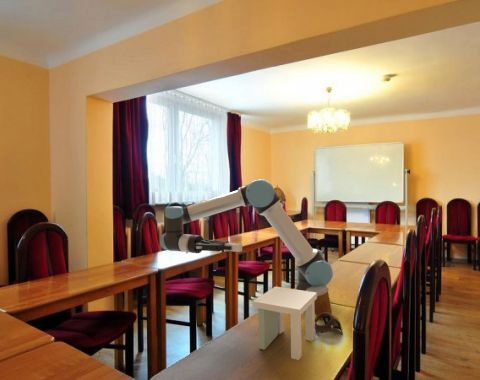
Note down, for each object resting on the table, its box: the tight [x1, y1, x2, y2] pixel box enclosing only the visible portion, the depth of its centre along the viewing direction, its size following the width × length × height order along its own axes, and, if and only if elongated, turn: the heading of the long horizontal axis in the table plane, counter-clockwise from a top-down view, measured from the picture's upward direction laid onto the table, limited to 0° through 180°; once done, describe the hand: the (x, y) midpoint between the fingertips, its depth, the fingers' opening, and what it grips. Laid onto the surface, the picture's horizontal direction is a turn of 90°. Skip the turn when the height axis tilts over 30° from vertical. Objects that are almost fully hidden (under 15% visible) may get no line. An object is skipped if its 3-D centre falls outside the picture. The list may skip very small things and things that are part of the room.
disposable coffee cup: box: [306, 284, 333, 321], centre depth 133 cm, size 10×10×12 cm
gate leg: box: [257, 308, 279, 350], centre depth 112 cm, size 13×2×13 cm, turn 152°
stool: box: [252, 286, 317, 361], centre depth 110 cm, size 18×16×16 cm
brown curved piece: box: [315, 311, 344, 336], centre depth 119 cm, size 12×10×8 cm
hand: (240, 248), depth 126 cm, fingers closed
